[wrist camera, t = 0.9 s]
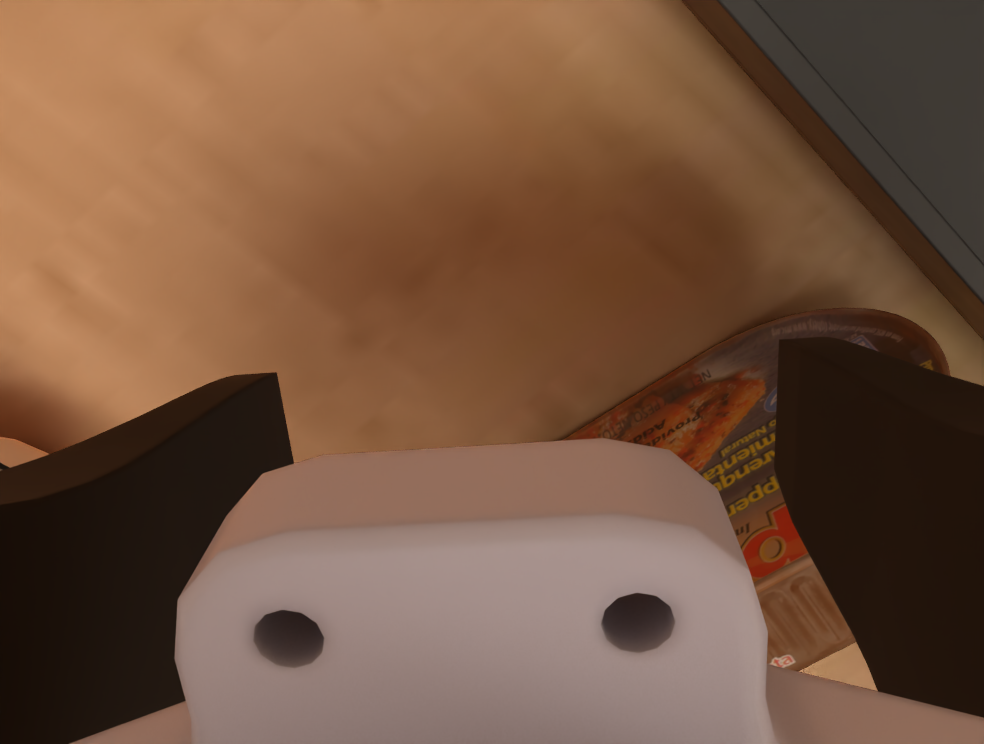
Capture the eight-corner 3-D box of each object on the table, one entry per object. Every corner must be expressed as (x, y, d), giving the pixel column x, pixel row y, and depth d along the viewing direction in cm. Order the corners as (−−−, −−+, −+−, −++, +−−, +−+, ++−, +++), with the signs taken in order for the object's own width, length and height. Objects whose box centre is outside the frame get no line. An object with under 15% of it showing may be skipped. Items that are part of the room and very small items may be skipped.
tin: (849, 261, 22) (1030, 406, 14) (907, 360, 23) (1106, 549, 15) (364, 557, 26) (294, 801, 18) (431, 632, 26) (392, 896, 19)
